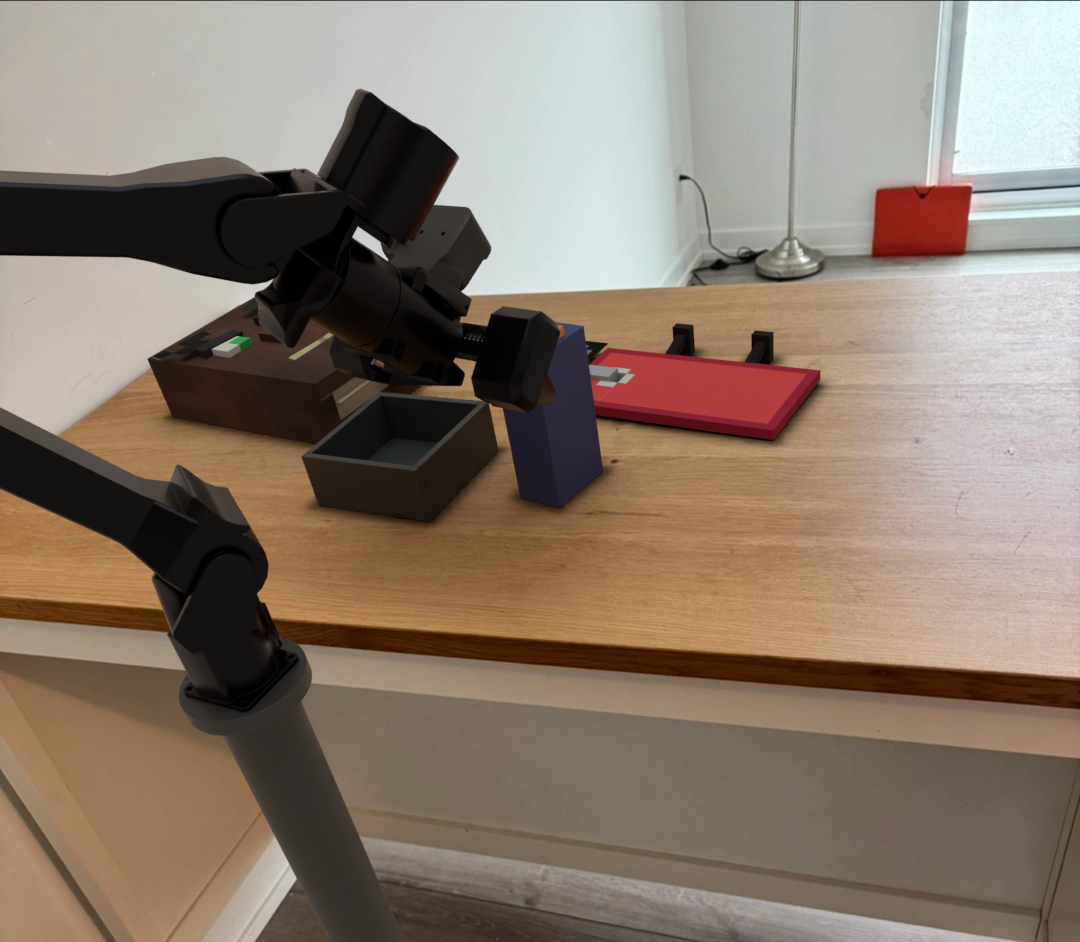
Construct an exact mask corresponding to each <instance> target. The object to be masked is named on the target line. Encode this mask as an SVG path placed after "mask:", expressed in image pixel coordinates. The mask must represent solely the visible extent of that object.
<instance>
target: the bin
mask: <svg viewBox="0 0 1080 942" xmlns="http://www.w3.org/2000/svg"><path fill="white" fill-rule="evenodd" d="M498 452H500V449H499V445H498V441H497V435H496V430H495V426H494V421H493V416H492V411H491V406H490V404H489V403H486V402H484V401H482V400H476V399H463V398H453V397H440V396H429V395H418V394H408V395H407V394H396V393H384V392H378V393H377V394H376V395H375V396H373V397H372V398H371V399H370V400H369V401H367V402H366V403H365V404H364V405H363V406H361V407H360V408H359V409H358V410H357V411H355V412H354V413H353V414H352V415H351V416H349V417H348V418H347V419H346V420H344V421H343V422H342V423H341V424H340V425H338V426H337V427H336V428H335V429H334V430H332V431H331V432H330V433H329V434H328V435H326V436H325V437H324V438H323V439H322V440H320V441H319V442H318V443H317V444H313V446H311V448H309V449H308V450H306V452H305V453H303V454H302V455H301V456H300V457H301V460H302V463H303V465H304V468H305V471H306V474H307V478H308V479H309V482H310V485H311V488H312V491H313V494H314V496H315V500H316V503H317V506H322V507H329V508H335V509H342V510H348V511H355V512H362V513H369V514H374V515H380V516H381V515H382V516H387V517H394V518H400V519H401V518H402V519H407V520H415V521H421V522H428V523H430V522H431V521H432V520H433V519H434V518H435V517H436V516H437V515H439V513H440V512H441V511H442V510H443V509H444V508H445V507H446V506H447V505H448V504H449V503H450V502H451V501H452V499H454V497H456V496H457V494H458V493H460V491H461V490H463V488H464V487H465V486H466V485H467V484H468V483H470V481H471V480H472V479H473V478H474V477H475V476H476V475H477V474H478V473H479V472H480V471H481V470H482V469H483V468H484V467H485V466H486V465H487V464H488V463H489V462H490V461H491V460H492V459H493V458H494V457H495V456H496V455H497V454H498Z"/></svg>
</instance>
